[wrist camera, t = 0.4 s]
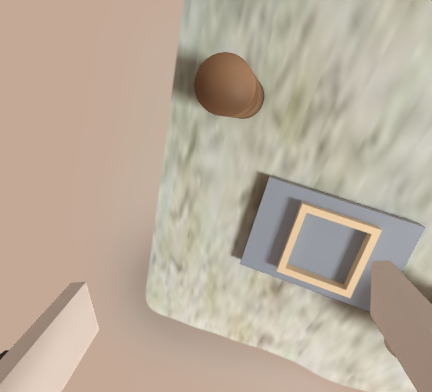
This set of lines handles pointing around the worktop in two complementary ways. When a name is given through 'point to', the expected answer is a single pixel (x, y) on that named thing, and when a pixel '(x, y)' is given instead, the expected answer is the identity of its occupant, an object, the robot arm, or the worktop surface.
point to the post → (228, 86)
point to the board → (325, 241)
